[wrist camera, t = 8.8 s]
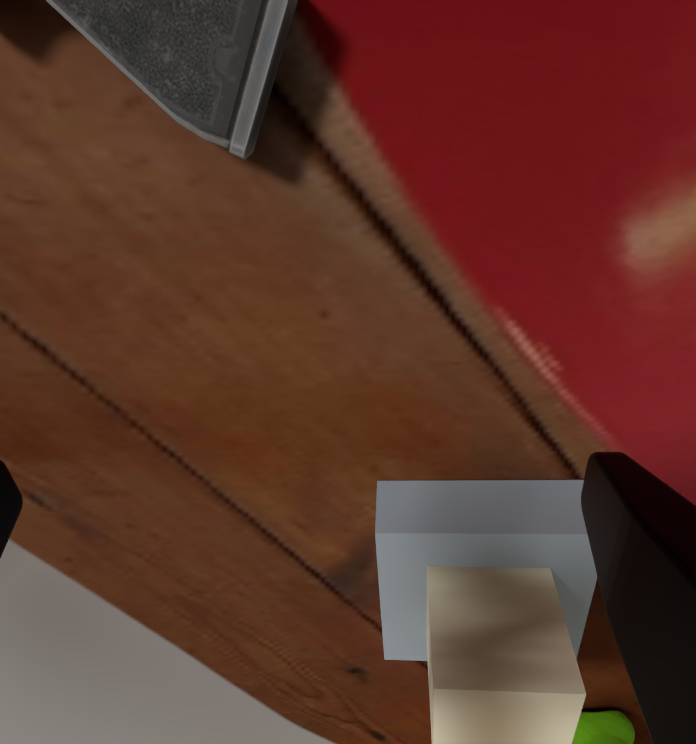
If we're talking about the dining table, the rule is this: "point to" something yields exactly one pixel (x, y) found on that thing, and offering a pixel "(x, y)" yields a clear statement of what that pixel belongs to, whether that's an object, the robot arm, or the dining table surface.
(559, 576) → the base
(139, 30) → the handgun
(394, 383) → the dining table surface
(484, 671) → the cube
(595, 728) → the toy
